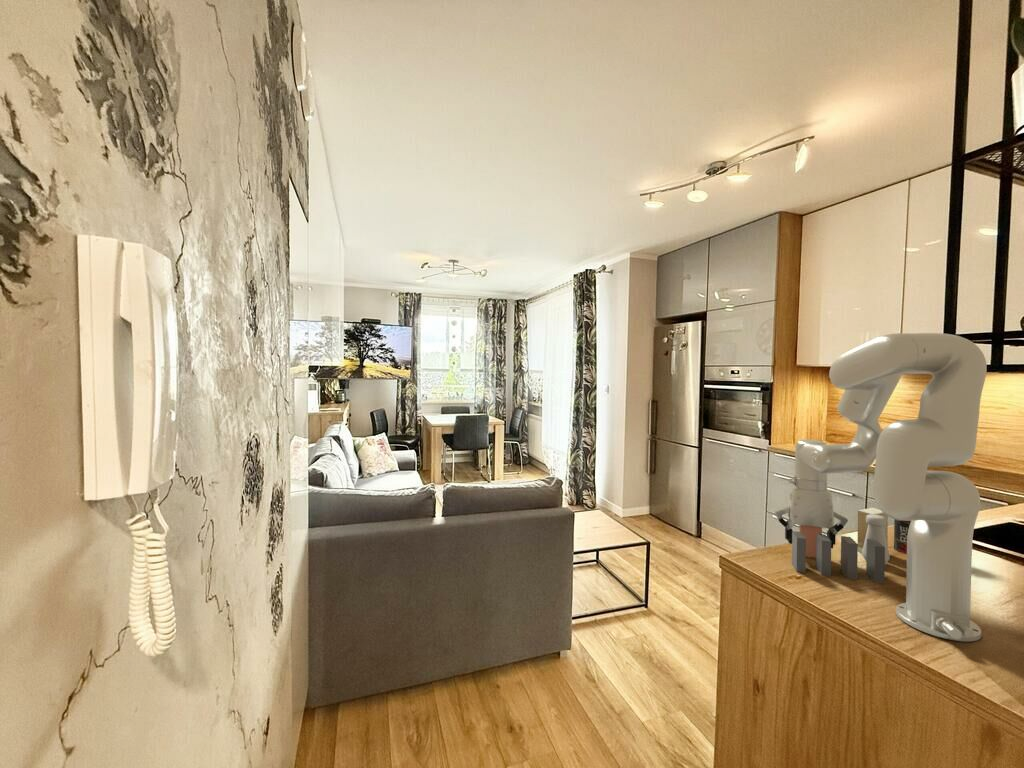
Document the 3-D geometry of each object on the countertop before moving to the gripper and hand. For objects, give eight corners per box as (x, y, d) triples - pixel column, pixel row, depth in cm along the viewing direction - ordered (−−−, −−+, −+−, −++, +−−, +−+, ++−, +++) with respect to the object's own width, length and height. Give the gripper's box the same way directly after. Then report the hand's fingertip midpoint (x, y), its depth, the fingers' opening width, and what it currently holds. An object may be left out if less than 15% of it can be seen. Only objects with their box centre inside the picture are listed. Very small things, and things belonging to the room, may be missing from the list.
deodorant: (893, 551, 127) (894, 499, 126) (893, 544, 131) (894, 494, 131) (922, 556, 123) (923, 503, 122) (920, 550, 127) (921, 498, 127)
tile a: (805, 573, 114) (806, 538, 114) (796, 571, 115) (796, 537, 114) (800, 565, 119) (800, 531, 118) (791, 563, 119) (792, 531, 119)
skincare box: (871, 548, 129) (872, 506, 128) (888, 554, 125) (889, 511, 124) (856, 551, 127) (856, 509, 126) (872, 557, 123) (873, 514, 122)
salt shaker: (879, 559, 122) (880, 512, 121) (895, 568, 116) (896, 519, 115) (856, 558, 122) (857, 512, 122) (871, 567, 116) (872, 519, 116)
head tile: (819, 555, 124) (819, 524, 124) (821, 558, 122) (822, 526, 122) (798, 553, 126) (799, 522, 126) (800, 556, 124) (800, 524, 124)
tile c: (857, 579, 110) (857, 544, 110) (847, 578, 111) (848, 543, 110) (849, 571, 115) (850, 536, 114) (840, 570, 115) (841, 536, 115)
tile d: (884, 583, 108) (884, 547, 108) (874, 582, 109) (874, 546, 109) (875, 574, 113) (876, 539, 113) (866, 573, 114) (866, 538, 113)
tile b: (830, 576, 112) (831, 541, 112) (821, 575, 113) (821, 540, 112) (824, 568, 117) (825, 534, 116) (815, 566, 117) (816, 533, 117)
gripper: (778, 485, 123) (777, 545, 124) (853, 490, 117) (851, 554, 118) (772, 478, 130) (771, 535, 131) (843, 483, 124) (841, 543, 125)
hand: (809, 544), depth 124 cm, fingers open, 9 cm apart
